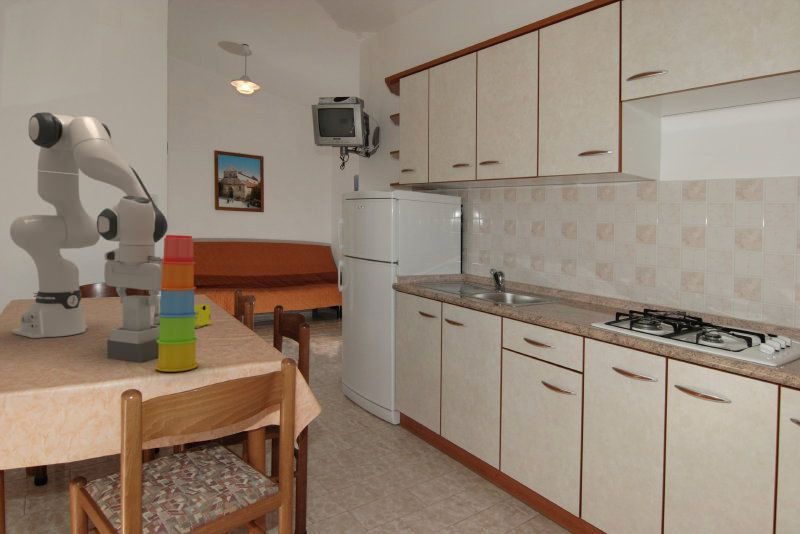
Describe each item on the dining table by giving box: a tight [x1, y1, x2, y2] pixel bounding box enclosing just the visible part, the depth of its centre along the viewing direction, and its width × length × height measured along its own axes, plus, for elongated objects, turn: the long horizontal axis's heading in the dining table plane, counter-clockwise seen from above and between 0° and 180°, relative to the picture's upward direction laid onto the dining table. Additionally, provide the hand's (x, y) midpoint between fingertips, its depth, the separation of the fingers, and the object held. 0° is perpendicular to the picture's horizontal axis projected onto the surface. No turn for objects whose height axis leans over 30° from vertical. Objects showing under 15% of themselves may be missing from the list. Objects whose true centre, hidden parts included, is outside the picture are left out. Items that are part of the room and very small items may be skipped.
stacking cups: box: [155, 234, 199, 373], centre depth 130 cm, size 10×10×35 cm
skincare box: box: [122, 294, 151, 332], centre depth 141 cm, size 6×4×12 cm
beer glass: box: [150, 295, 161, 326], centre depth 154 cm, size 7×7×15 cm
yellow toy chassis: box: [194, 303, 212, 329], centre depth 180 cm, size 16×6×8 cm, turn 159°
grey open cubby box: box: [106, 325, 160, 363], centre depth 142 cm, size 12×10×9 cm
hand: (137, 304), depth 141 cm, fingers open, 8 cm apart
